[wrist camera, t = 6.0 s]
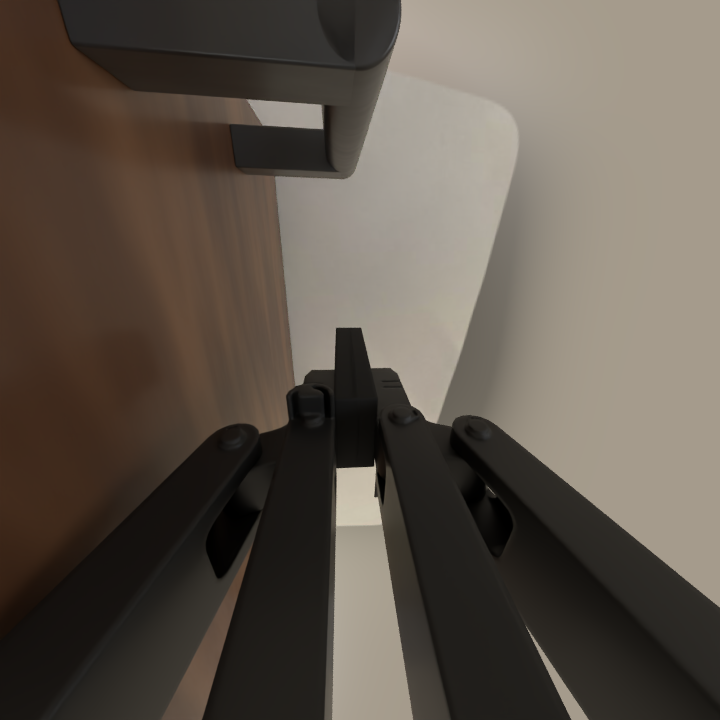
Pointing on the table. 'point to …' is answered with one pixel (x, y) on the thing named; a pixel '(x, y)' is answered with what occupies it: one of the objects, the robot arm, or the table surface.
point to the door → (152, 252)
